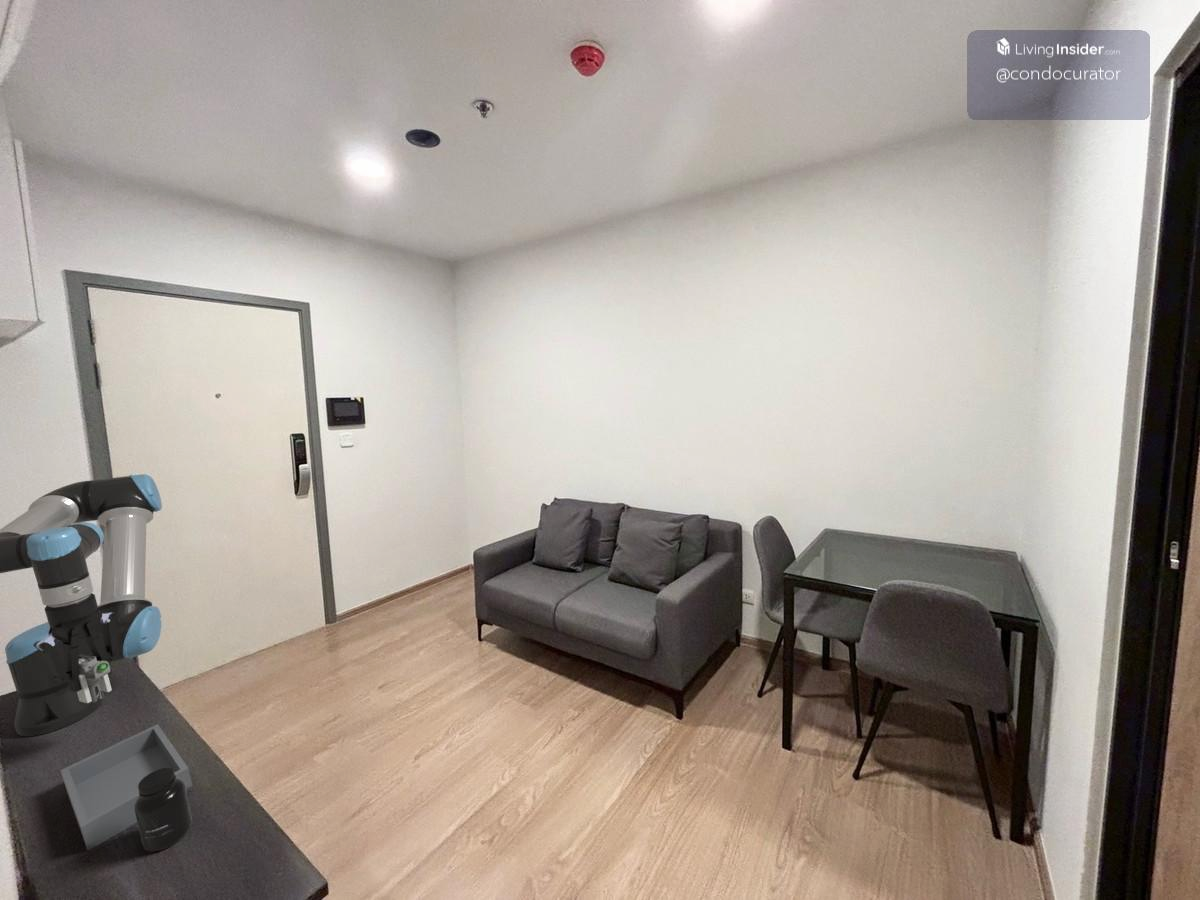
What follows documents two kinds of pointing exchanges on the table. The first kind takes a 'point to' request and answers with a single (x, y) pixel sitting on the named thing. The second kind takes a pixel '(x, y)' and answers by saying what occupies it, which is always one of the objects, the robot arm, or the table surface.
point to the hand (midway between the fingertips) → (95, 695)
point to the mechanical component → (93, 673)
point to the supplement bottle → (162, 810)
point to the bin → (118, 782)
